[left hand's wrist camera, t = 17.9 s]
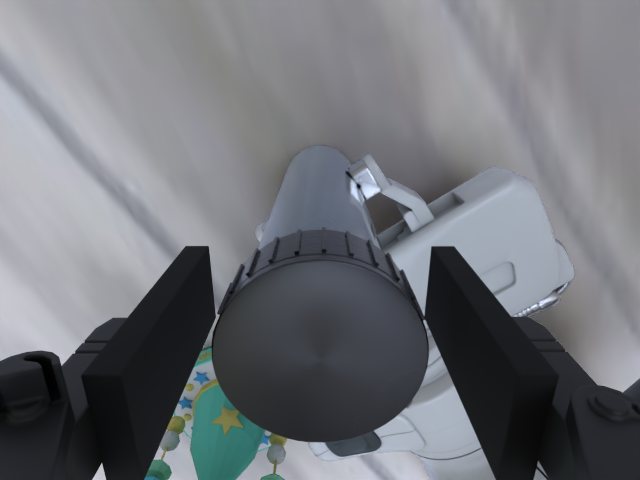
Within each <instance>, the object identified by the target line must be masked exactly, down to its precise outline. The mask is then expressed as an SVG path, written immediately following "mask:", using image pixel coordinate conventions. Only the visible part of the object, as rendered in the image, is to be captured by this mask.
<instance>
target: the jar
mask: <svg viewBox="0 0 640 480" xmlns="http://www.w3.org/2000/svg"><path fill="white" fill-rule="evenodd" d="M349 166H351V163H350V162H349V160H348V159H347V157H346V156H345V155H344V154H342V153H341V152H340V151H338V150H337V149H334V148H332V147H329V146H323V145H318V146H312V147H308V148H306V149H304V150H302V151H300V152H299V153H298V154H297V155H296V156H295V157H294V158H293V159H292V160H291V162H290V164H289V166H288V169H287V171H286V174H285V176H284V179H283V182H282V185H281V187H280V190H279V193H278V195H277V198H276V201H275V203H274V206H273V209H272V211H271V214H270V217H269V219H268V222H267V225H266V227H265V230H264V233H263V235H262V238H261V241H260V243H259V246H258V249H259V250H260V249H261V248H263V247H264V246H266V245H267V244H268V243H270V242H272V241H274V238H275V237H277V236H278V237H279V238H280V237H283V236H286V235H289V234H292V233H296V232H297V230H299V229H301V231H307V230H322V227H325V228H326V230H333V231H340V232H345V233H346V231H350V234H352V235H355V236H357V237H360V238H362V239H364V240H367V241H368V240H369V239H370V240H372V242H373V245H375V246H377V247H378V248H379V249H381V250H382V251H383V252H384V250H383V248H382V245H381V242H380V240H379V237H378V234H377V232H376V229H375V227H374V224H373V221H372V219H371V216H370V213H369V211H368V208H367V205H366V203H365V200H364V197H363V195H362V192H361V190H360V187H359V185H358V184H357V183H356V182H355V181H354V180H353V178H352V176H351V175H350V173H349V171H348V167H349Z"/></svg>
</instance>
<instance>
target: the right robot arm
mask: <svg viewBox="0 0 640 480" xmlns="http://www.w3.org/2000/svg"><path fill="white" fill-rule="evenodd" d="M348 171H349V173H350V175H351V176H352V178H353V180H354V181H355V182H356V183H357V184H358V185H359V187H360V190H361V192H362V194H363V195H364V197H365V198H366V200H367V199H369V198H371V197H372V196H374V195H376V194H377V193H379V192H380V193H381V194H383V195H385V196H387V197H389V198H391V199H393V200H395V201H397V202H399V203H398V204H397V208H398V209H399V211H400V213H401V214H402V216H403V218H404V219H403V220H401V221H399V222H398V223H396V224H394V225H393V226H391V227H389V228H388V229H386V230H384V231H383V232H381V233H379V234H378V237H379V240H380V242H381V245H382V248H383V250H384V253H386V254H387V253H389V254H391V257H392V259H393V261H394V263H395V264H396V265H397V267H398V268H399V269H400V270H402V269H403V270H404V272H405V274H406V277H407V279H408V281H409V283H410V286H411V288H412V290H413V292H414V294H415V296H416V299H417V301H418V303H419V305H420V308H421V310H422V312H423V314H424V315H425V305H426V295H427V285H428V275H429V265H430V255H431V246H454V247H455V248H456V249H457V250H458V252H459V253H460V254H461V255H462V256H463V258H464V259H465V260H466V261H467V263H468V264H469V265H470V266H471V268H472V269H473V270H474V271H475V272H476V274H477V275H478V276H479V277H480V279H481V280H482V281H483V282H484V284H485V285H486V286H487V287H488V288H489V290H490V291H491V292H492V293H493V295H494V296H495V297H496V298H497V300H498V301H499V302H500V303H501V304H502V306H503V307H504V308H505V309H506V311H507V312H508V313H509V314H510V316H511V317H529V316H532V315H533V314H536V313H537V312H539V311H541V312H542V311H545V310H547V309H549V308H551V307H553V306H554V305H555V304H557V303H558V302H559V301H560V300H561V298H560V296H559V295H561V294H562V293H563V292H564V291H565V290H566V289H567V288H568V286H569V285H570V283H571V281H572V279H573V278H574V275H575V272H574V267H573V265H572V262H571V260H570V258H569V256H568V254H567V252H566V250H565V248H564V246H563V245H562V244H561V243H560V242H559V241H558V240H557V239H555V237H554V234H553V230H552V227H551V224H550V221H549V218H548V215H547V212H546V209H545V207H544V204H543V202H542V199H541V197H540V194H539V192H538V190H537V188H536V187H535V185H534V184H533V183H532V182H531V181H530V180H528V179H527V178H525V177H524V176H522V175H520V174H518V173H515V172H513V171H510V170H506V169H502V168H498V167H490V168H488V169H486V170H484V171H483V172H481V173H479V174H478V175H476V176H474V177H473V178H471V179H469V180H468V181H466V182H464V183H463V184H461V185H459V186H458V187H456V188H454V189H453V190H451V191H449V192H448V193H446V194H444V195H443V196H441V197H439V198H438V199H436V200H434V201H433V202H431V203H429V204H428V205H426V203H425V201H424V200H423V199H422V198H421V197H420V196H419V195H418V193H417V192H416V191H414V190H412V189H410V188H408V187H406V186H404V185H402V184H400V183H398V182H396V181H394V180H392V179H390V178H388V177H387V178H385V176H384V175H383V173H382V171H381V170H380V168H379V166H378V165H377V163H376V162H375V160H374V159H373V157H372V156H371V154H370V153H369V154H367V155H366V156H364V157H363V158H361V159H360V160H358V161H357V162H355V163H354V164H352V165H351V166H349V167H348ZM267 222H268V219H267V220H265V221H264V222H262V223H261V224H259V225H258V226H257V227H256V229H255V236H256V238H257V240H258V241H259V242H260V241H261V238H262V235H263V233H264V230H265V227H266V225H267ZM423 322H424V325H425V328H426V331H427V336H428V342H429V359H428V366H427V370H426V373H425V377H424V380H423V382H422V384H421V386H420V388H419V390H418V392H417V393H416V395H415V397H414V398H413V400H412V401H411V402H410V403H409V404H408V406H407V407H406V408H405V409H404V410H403V411H402V412H401V413H400V414H398V415H397V416H396V417H395V418H394V419H392V420H391V421H389V422H388V423H387V424H385V425H384V426H382V427H380V428H378V429H376V430H374V431H372V432H370V433H367V434H365V435H362V436H359V437H356V438H352V439H348V440H343V441H337V442H325V443H321V442H308V445H309V448H310V449H311V451H312V452H313V454H314V455H315V456H316V457H317V458H319V459H321V460H323V461H335V460H340V459H345V458H350V457H355V456H361V455H367V454H374V453H382V452H400V451H410V452H412V453H413V454H415V455H416V456H418V457H419V458H420V459H421V460H422V463H423V466H424V468H425V471H426V473H427V475H428V477H429V478H430V480H496V479H495V477H494V475H493V472H492V470H491V468H490V466H489V463H488V461H487V459H486V457H485V454H484V452H483V450H482V448H481V445H480V443H479V441H478V438H477V436H476V434H475V432H474V429H473V427H472V425H471V423H470V420H469V418H468V416H467V413H466V411H465V409H464V407H463V404H462V402H461V400H460V398H459V395H458V393H457V391H456V389H455V386H454V384H453V382H452V379H451V377H450V375H449V373H448V370H447V368H446V366H445V364H444V361H443V359H442V357H441V354H440V352H439V350H438V348H437V345H436V343H435V341H434V339H433V336H432V334H431V332H430V330H429V327H428V325H427V323H426V320H423ZM623 393H624V394H626V395H628V396H630V397H632V398H634V399H635V400H636V401H637V402H639V403H640V379H639V380H637V381H636V382H635V383H634V384H633V385H631V386H630V387H629V388H628V389H627V390H626V391H624V392H623ZM534 480H549V478H548V477H547V475H546V473H545V471H544V470H543V468H542V466H541V465H540V463H539V461H538V464H537V468H536V472H535V476H534Z"/></svg>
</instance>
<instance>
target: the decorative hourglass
mask: <svg viewBox="0 0 640 480" xmlns="http://www.w3.org/2000/svg"><path fill="white" fill-rule="evenodd" d="M211 349H212V347H211V348H208V349H206V350H203V351H201V352H200V354H199V357H198V359H197V361H196V364H195V366H194V368H193V370H192V373H191V375H190V377H189V379H188V382H187V384H186V386H185V389H184V391H183V393H182V395H181V398H180V400H179V402H178V404H177V407H176V409H175V411H174V417H172V418H171V420H170V423H169V425H168V427H167V430H168V431H166V432H165V434H164V436H163V438H162V441H161V443H160V447H161V448H162V449H163V450H164V453H163V456H162V458H161V460H153V461H152V463H151V466H150V468H149V470H148V472H147V475H146V477H145V479H144V480H168V479H169V477H170V475H171V473H172V472H171V469H170V467H169V465H167V464H166V463H165V462H164V461H162V460H163V457H164V455H165V452H166V451H171V450H174V449H175V448H176V447H177V445H178V444H179V442H180V440H179V435H178V434H180V433H182V432H183V431H184V432H185V434H186V435H187V436H188V437H190V438H191V447H190V450H191V454H192V458H193V462H194V465H195V469H196V473H197V476H198V480H236V479H237V478H238V477H239V475H240V474H241V473H242V472H243V471H244V470H245V469H246V468H247V467H248V466H249V464H250V463H251V462H252V461H253V459H254V458H255V455H256V453H257V452H258V451H261V450H264V449H267V448H269V450H268V453H267V457H268V459H269V461H270V463H272V464H274V471H273V474H269V475H267V476H264V477H262V478H261V479H260V480H285V479H283V478H282V477H280V476H279V475H277V474H275V473H276V464H280V463H281V462H283V460H284V458H285V454H286V452H285V449H284V447H283V446H284V445H285V443H286V441H287V438H285V437H282V436H279V435H276V434H273V433H271V432H269V431H267V430H264V429H262V428H260V427H259V426H257V425H256V424H254V423H252V422H251V421H249V420H248V419H247V418H246V417H244V416H243V415H242V414H241V413H240V412H239V411H238V410H237V409H236V408H235V407H234V406H233V405H232V404H231V403H230V401H229V400H228V399H227V397H226V396H225V394H224V393H223V391H222V389H221V387H220V386H219V383H218V381H217V378H216V375H215V372H214V368H213V363H212V352H211Z"/></svg>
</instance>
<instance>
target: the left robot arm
mask: <svg viewBox="0 0 640 480" xmlns="http://www.w3.org/2000/svg"><path fill="white" fill-rule="evenodd" d="M424 317H425V320H426V323H427V325H428V327H429V330H430V332H431V334H432V336H433V339H434V341H435V343H436V345H437V348H438V350H439V352H440V354H441V357H442V359H443V361H444V364H445V366H446V368H447V370H448V373H449V375H450V377H451V379H452V382H453V384H454V386H455V389H456V391H457V393H458V395H459V398H460V400H461V402H462V404H463V407H464V409H465V411H466V413H467V416H468V418H469V420H470V423H471V425H472V427H473V429H474V432H475V434H476V436H477V438H478V441H479V443H480V445H481V448H482V450H483V452H484V454H485V457H486V459H487V461H488V463H489V466H490V468H491V470H492V472H493V475H494V477H495V479H496V480H534V476H535V472H536V468H537V464H538V461H539V463H540V465H541V466H542V468H543V470H544V471H545V473H546V475H547V477H548V478H549V480H640V403H639V402H637V401H636V400H635V399H634V398H632V397H630V396H628V395H626V394H624V393H622V392H620V391H618V390H614V389H611V388H608V387H605V386H598V385H597V384H596V383H595V382H594V381H593V380H592V379H591V378H590V377H589V375H588V374H587V373H586V372H585V371H584V370H583V369H582V368H581V367H580V366H579V364H578V363H577V362H576V361H575V360H574V359H573V358H572V357H571V356H570V355H569V353H568V352H565V349H564V348H563V347H562V346H561V345H560V344H559V343H558V342H556V339H555V338H554V337H553V336H552V335H551V334H550V333H549V332H548V330H547V329H546V328H545V327H543V326H542V325H540V324H539V323H537V322H535V321H534V320H532V319H530V318H529V317H511V316H510V314H509V313H508V312H507V311H506V309H505V308H504V307H503V306H502V304H501V303H500V302H499V301H498V300H497V298H496V297H495V296H494V295H493V293H492V292H491V291H490V290H489V288H488V287H487V286H486V285H485V284H484V282H483V281H482V280H481V279H480V277H479V276H478V275H477V274H476V272H475V271H474V270H473V269H472V268H471V266H470V265H469V264H468V263H467V261H466V260H465V259H464V258H463V256H462V255H461V254H460V253H459V252H458V250H457V249H456V248H455V247H454V246H431V255H430V265H429V275H428V285H427V295H426V305H425V315H424ZM215 318H216V315H215V305H214V295H213V285H212V275H211V265H210V255H209V246H186V247H185V248H184V249H183V250H182V252H181V253H180V254H179V255H178V256H177V258H176V259H175V260H174V261H173V263H172V264H171V265H170V266H169V268H168V269H167V270H166V271H165V272H164V274H163V275H162V276H161V277H160V279H159V280H158V281H157V282H156V284H155V285H154V286H153V287H152V288H151V290H150V291H149V292H148V293H147V295H146V296H145V297H144V298H143V300H142V301H141V302H140V303H139V304H138V306H137V307H136V308H135V309H134V311H133V312H132V313H131V314H130V316H129V317H128V318H112V319H111V320H109V321H107V322H106V323H104V324H102V325H101V326H99V327H97V328H96V329H95V330H94V331H93V332H92V333H91V334H90V336H89V337H88V338H87V339H86V340H85V343H82V344H81V345H80V347H79V348H78V349H77V350H76V351H75V354H72V355H71V357H70V358H69V359H68V360H67V361H66V362H65V363H64V364H63V365H62V366H61V363H60V359H59V357H58V356H57V355H55V354H54V353H53V352H46V351H33V352H25V353H22V354H18V355H15V356H11V357H9V358H6V359H4V360H2V361H0V480H92V479H93V477H94V475H95V474H96V472H97V470H98V468H99V467H100V465H101V463H102V464H103V468H104V472H105V476H106V480H144V479H145V477H146V475H147V472H148V470H149V468H150V466H151V463H152V461H153V459H154V457H155V454H156V452H157V450H158V448H159V445H160V443H161V441H162V438H163V436H164V434H165V432H166V429H167V427H168V425H169V423H170V420H171V418H172V416H173V413H174V411H175V409H176V407H177V404H178V402H179V400H180V398H181V395H182V393H183V391H184V389H185V386H186V384H187V382H188V379H189V377H190V375H191V373H192V370H193V368H194V366H195V364H196V361H197V359H198V357H199V354H200V352H201V350H202V348H203V345H204V343H205V341H206V339H207V336H208V334H209V332H210V330H211V327H212V325H213V323H214V320H215Z"/></svg>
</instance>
